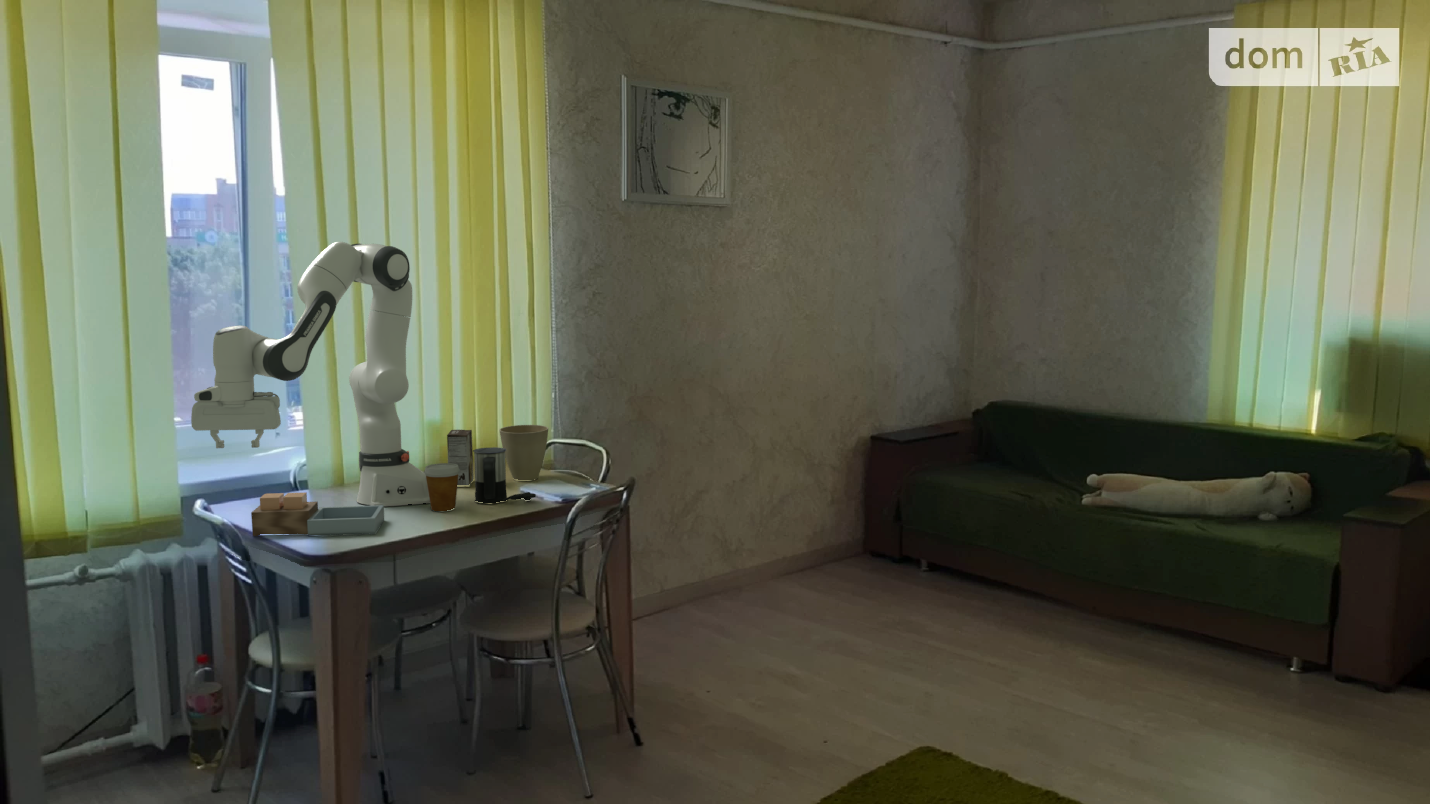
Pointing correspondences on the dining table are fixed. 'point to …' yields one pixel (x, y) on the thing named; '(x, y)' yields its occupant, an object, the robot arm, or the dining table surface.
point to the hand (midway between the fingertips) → (238, 447)
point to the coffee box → (461, 454)
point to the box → (346, 520)
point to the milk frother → (492, 476)
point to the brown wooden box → (282, 520)
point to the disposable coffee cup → (442, 485)
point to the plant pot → (524, 449)
